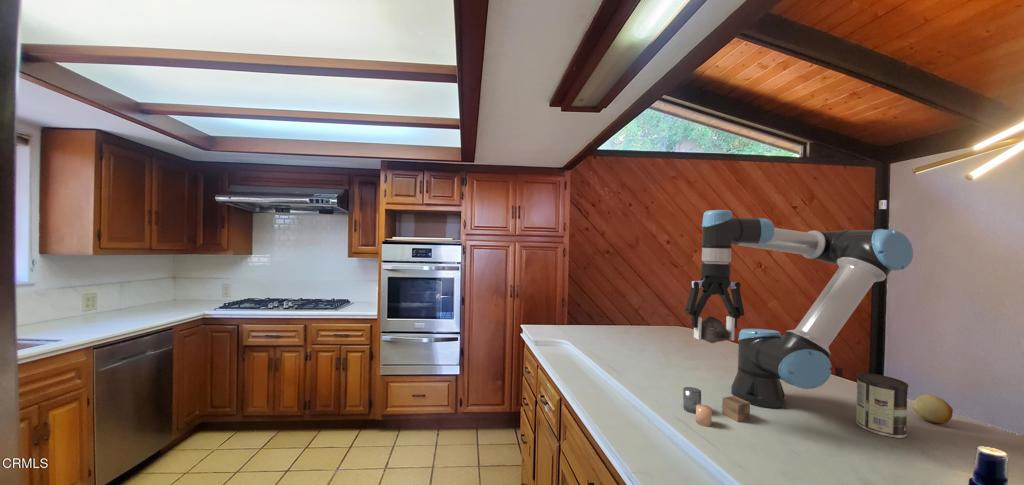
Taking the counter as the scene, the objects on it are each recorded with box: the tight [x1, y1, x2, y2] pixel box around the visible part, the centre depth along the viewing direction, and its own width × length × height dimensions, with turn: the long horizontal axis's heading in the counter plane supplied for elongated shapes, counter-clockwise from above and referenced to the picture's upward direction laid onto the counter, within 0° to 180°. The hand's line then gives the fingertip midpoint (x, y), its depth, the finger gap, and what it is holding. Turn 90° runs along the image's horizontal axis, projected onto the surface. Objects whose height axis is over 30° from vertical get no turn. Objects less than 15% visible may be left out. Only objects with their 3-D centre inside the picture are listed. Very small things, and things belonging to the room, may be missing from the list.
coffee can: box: [855, 372, 909, 439], centre depth 103 cm, size 10×10×14 cm
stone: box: [694, 316, 729, 344], centre depth 107 cm, size 10×8×10 cm
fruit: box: [911, 393, 954, 425], centre depth 108 cm, size 8×8×8 cm
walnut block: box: [721, 395, 751, 423], centre depth 108 cm, size 5×5×5 cm
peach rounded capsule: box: [695, 403, 713, 428], centre depth 104 cm, size 4×4×4 cm
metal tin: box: [682, 386, 702, 414], centre depth 112 cm, size 5×5×6 cm
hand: (713, 338), depth 107 cm, fingers closed on stone, 9 cm apart
